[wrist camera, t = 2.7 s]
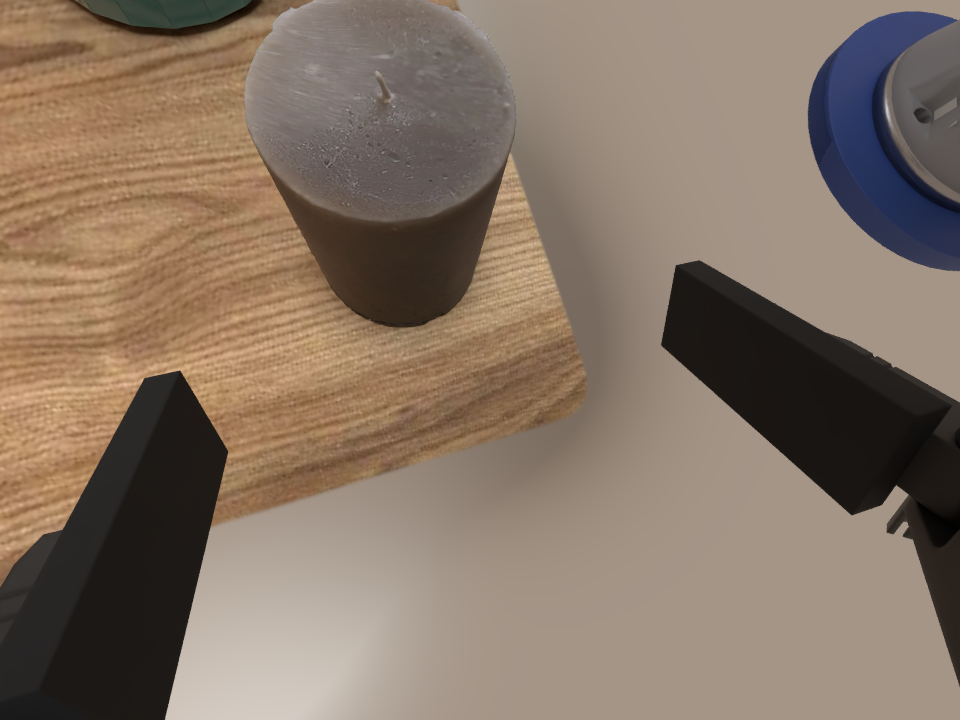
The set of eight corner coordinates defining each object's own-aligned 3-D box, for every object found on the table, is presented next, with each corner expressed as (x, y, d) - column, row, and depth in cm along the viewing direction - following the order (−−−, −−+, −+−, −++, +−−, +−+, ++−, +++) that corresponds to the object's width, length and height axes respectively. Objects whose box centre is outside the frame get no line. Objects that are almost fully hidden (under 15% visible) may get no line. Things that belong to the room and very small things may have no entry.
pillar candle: (423, 356, 28) (429, 264, 14) (291, 272, 28) (154, 90, 14) (502, 237, 31) (579, 48, 16) (379, 159, 30) (343, -104, 16)
